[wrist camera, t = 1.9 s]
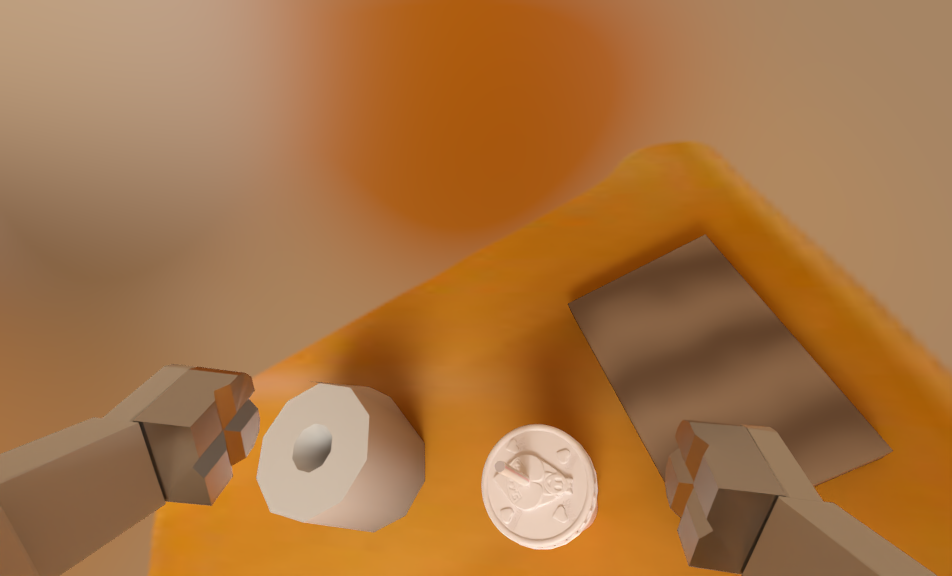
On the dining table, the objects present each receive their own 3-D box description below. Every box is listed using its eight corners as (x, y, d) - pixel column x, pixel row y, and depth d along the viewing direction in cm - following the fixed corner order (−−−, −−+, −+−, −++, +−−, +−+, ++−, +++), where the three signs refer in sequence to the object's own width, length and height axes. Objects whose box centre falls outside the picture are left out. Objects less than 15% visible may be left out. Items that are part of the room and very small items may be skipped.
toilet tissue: (368, 367, 46) (312, 330, 39) (446, 473, 38) (392, 450, 31) (298, 435, 45) (227, 410, 38) (362, 558, 37) (288, 554, 30)
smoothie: (530, 453, 36) (459, 398, 25) (618, 459, 34) (581, 401, 23) (523, 548, 33) (438, 534, 22) (618, 562, 31) (577, 554, 20)
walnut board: (881, 457, 29) (893, 450, 27) (694, 537, 30) (694, 534, 29) (704, 248, 39) (705, 234, 38) (572, 314, 41) (567, 303, 39)
